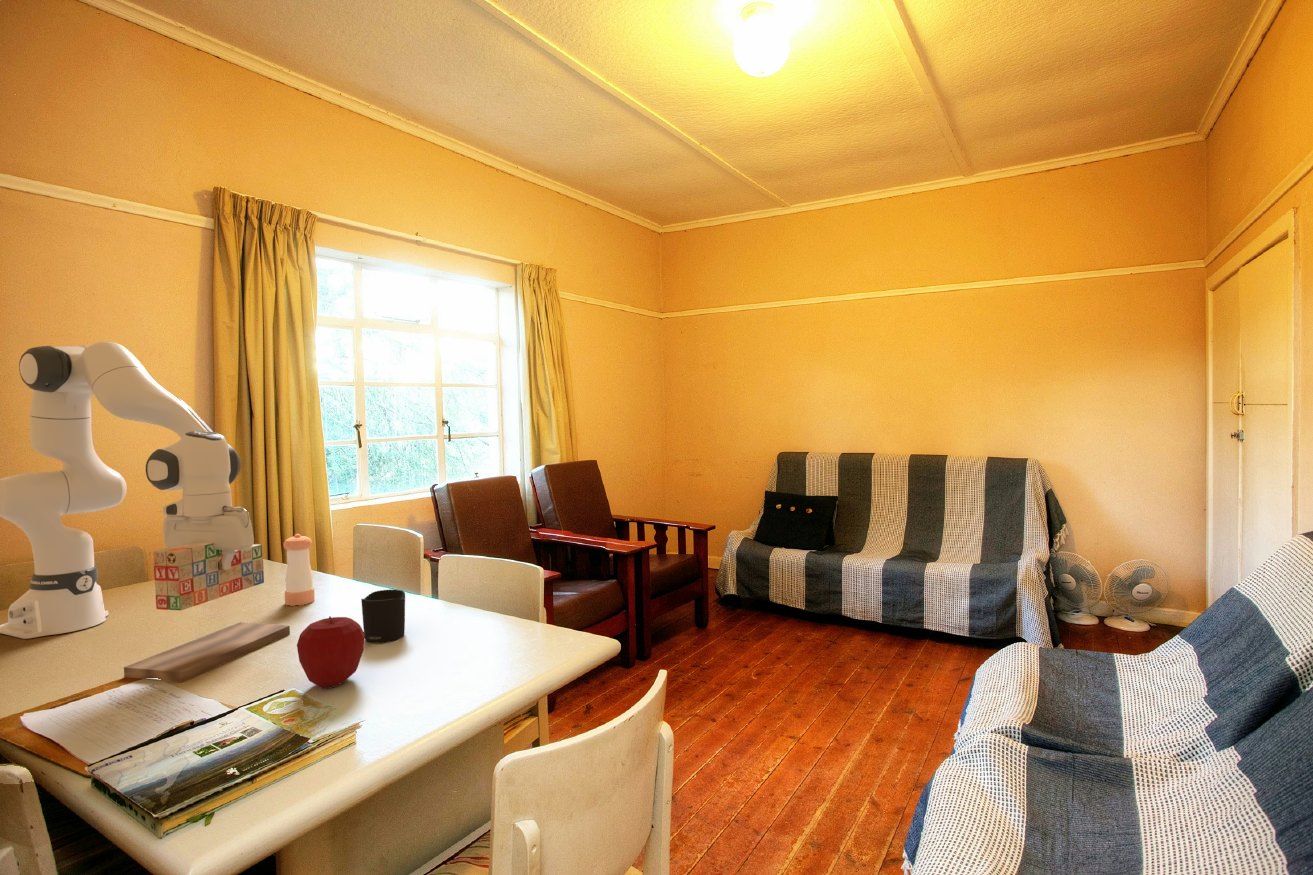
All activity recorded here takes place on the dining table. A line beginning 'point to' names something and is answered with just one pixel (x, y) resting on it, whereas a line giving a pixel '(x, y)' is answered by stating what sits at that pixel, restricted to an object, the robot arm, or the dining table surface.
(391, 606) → the pen holder
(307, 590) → the pepper shaker
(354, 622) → the apple
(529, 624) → the dining table surface
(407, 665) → the dining table surface
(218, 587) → the stack of blocks
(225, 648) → the walnut board
